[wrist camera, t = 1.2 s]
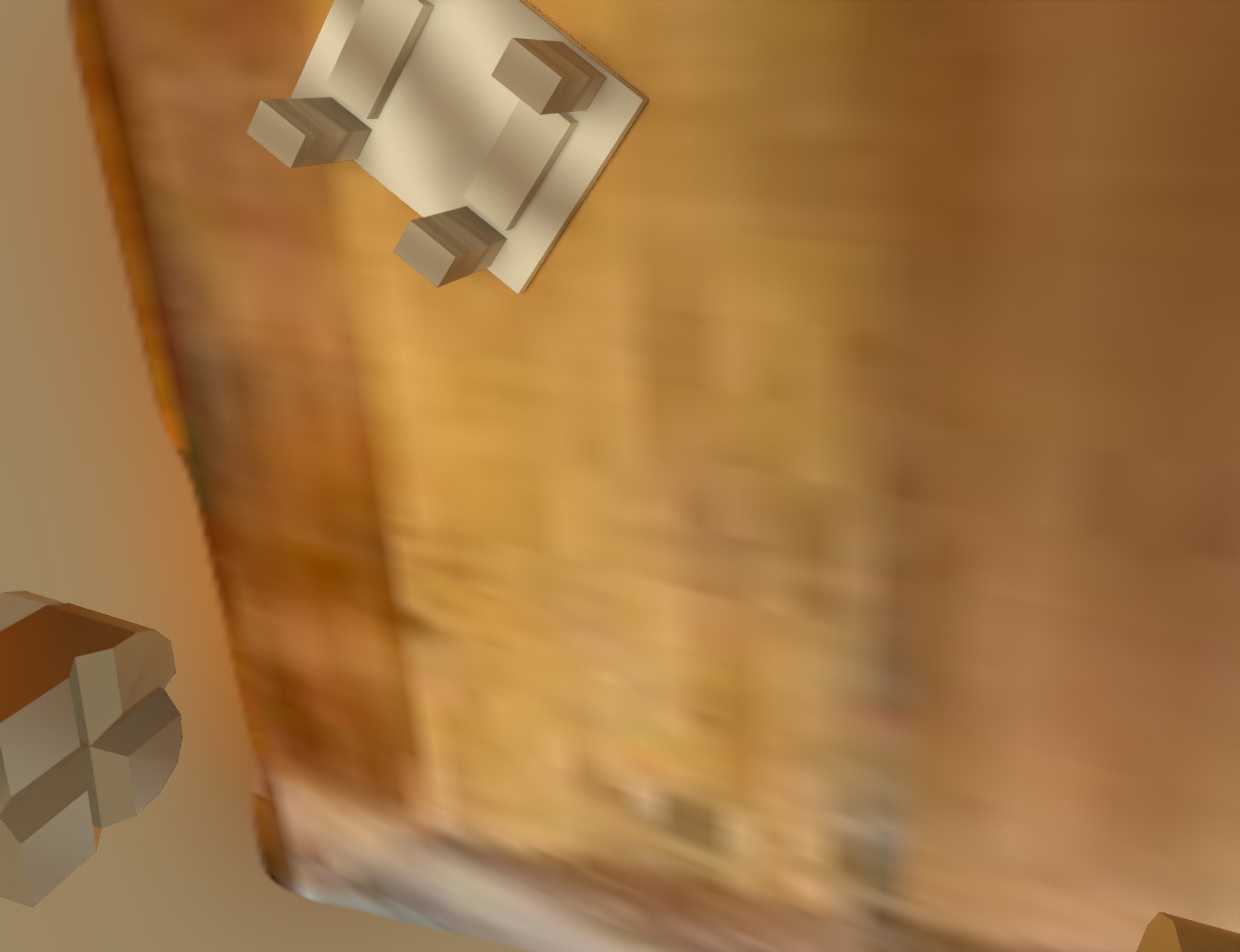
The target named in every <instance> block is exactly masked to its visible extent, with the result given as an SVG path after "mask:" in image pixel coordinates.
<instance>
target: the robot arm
mask: <svg viewBox="0 0 1240 952" xmlns="http://www.w3.org/2000/svg"><path fill="white" fill-rule="evenodd" d="M173 658H174V657H173V651H172V645H171V641H170V640H169V639H167V638H166V637H165V636H163V635H162V634H160V633H159V632H157V631H156V630H154V629H151V628H147V627H144V626H141V625H138V624H135V623H131V622H128V621H125V620H122V619H118V618H115V617H111V616H109V615H105V614H102V613H99V612H96V611H93V610H89V609H86V608H83V607H80V606H76V605H73V604H70V603H66V604H65V603H62V602H60V601H57V600H54V599H50V598H47V597H43V596H41V595H37V594H34V593H30V592H28V591H13V592H2V593H0V897H3V898H6V899H9V900H12V901H15V902H18V903H21V904H24V905H27V906H30V907H34V906H35V905H36V904H38V903H39V902H40V901H41V900H42V899H43V898H44V897H45V896H47V895H48V894H49V893H50V892H51V891H52V890H53V889H55V888H56V887H57V886H58V885H59V884H60V883H61V882H62V881H63V880H65V879H66V878H67V877H68V876H69V875H70V874H71V873H73V872H74V871H75V870H76V869H77V868H78V867H79V866H80V865H82V864H83V863H84V862H85V861H86V860H87V859H88V858H89V857H91V855H93V854H94V853H95V852H96V851H97V847H98V843H99V838H100V834H101V829H102V828H104V827H107V826H110V825H112V824H115V823H118V822H120V821H123V820H126V819H129V818H132V817H134V816H137V815H138V814H139V813H140V812H141V811H142V810H143V809H144V808H145V807H146V806H147V805H148V804H149V803H150V802H151V801H152V800H154V799H155V798H156V797H157V796H158V795H159V794H160V793H161V791H162V789H163V788H164V786H165V784H166V782H167V781H168V779H169V777H170V775H171V773H172V772H173V770H174V768H175V767H176V765H177V763H178V759H179V753H180V748H181V743H182V737H183V736H182V725H181V714H180V713H179V711H178V710H177V708H176V706H175V705H174V704H173V702H172V700H171V699H170V697H169V696H168V694H167V693H166V691H165V690H164V688H165V687H166V686H167V684H168V683H169V681H170V680H171V679H172V677H173V676H174V675H175V673H176V670H175V664H174V659H173ZM1136 952H1240V934H1239V933H1235V932H1232V931H1228V930H1224V929H1221V928H1217V927H1213V926H1210V925H1206V924H1203V923H1199V922H1195V921H1192V920H1188V919H1184V918H1181V917H1177V916H1173V915H1170V914H1166V913H1162V912H1159V913H1158V914H1157V915H1156V916H1155V917H1154V918H1153V920H1152V921H1151V922H1150V923H1149V924H1148V925H1147V928H1146V930H1145V932H1144V935H1143V937H1142V940H1141V942H1140V944H1139V947H1138V949H1137V951H1136Z"/></svg>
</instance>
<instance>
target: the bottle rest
mask: <svg viewBox="0 0 1240 952" xmlns="http://www.w3.org/2000/svg"><path fill="white" fill-rule="evenodd" d="M647 101H648V99H647V98H646V97H645V96H643V95H642V94H641V93H640V92H638V91H637V90H636V89H635V88H633V87H632V86H631V85H630V84H628V83H627V82H626V81H625V80H623V79H622V78H621V77H620V76H618V75H617V74H616V73H615V72H613V71H612V70H611V69H610V68H608V67H607V66H606V65H605V64H603V63H602V62H601V61H600V60H598V59H597V58H596V57H595V56H593V55H592V54H591V53H590V52H589V51H587V50H586V49H585V48H584V47H582V46H581V45H580V44H579V43H577V42H576V41H575V40H574V39H572V38H571V37H570V36H569V35H567V34H566V33H565V32H564V31H562V30H561V29H560V28H559V27H557V26H556V25H555V24H554V23H552V22H551V21H550V20H549V19H547V18H546V17H545V16H544V15H542V14H541V13H540V12H539V11H537V10H536V9H535V8H534V7H532V6H531V5H530V4H529V3H527V2H526V1H525V0H335V1H334V3H333V5H332V7H331V10H330V12H329V14H328V16H327V18H326V21H325V23H324V25H323V27H322V29H321V32H320V34H319V36H318V38H317V40H316V43H315V45H314V47H313V49H312V52H311V54H310V56H309V58H308V60H307V63H306V65H305V67H304V69H303V71H302V74H301V76H300V78H299V80H298V83H297V85H296V87H295V89H294V91H293V94H292V96H291V98H290V99H268V100H261V101H260V103H259V105H258V108H257V110H256V112H255V115H254V117H253V119H252V122H251V124H250V126H249V128H248V131H247V133H248V134H249V135H250V136H251V137H252V138H254V139H255V140H256V141H257V142H259V143H260V144H261V145H262V146H264V147H265V148H266V149H267V150H269V151H270V152H271V153H272V154H273V155H275V156H276V157H277V158H278V159H280V160H281V161H282V162H283V163H285V164H286V165H287V166H288V167H289V168H297V167H304V166H311V165H318V164H325V163H333V162H340V161H347V160H353V161H354V162H356V163H357V164H358V165H359V166H361V167H362V168H363V169H364V170H365V171H367V172H368V173H369V174H370V175H372V176H373V177H374V178H375V179H377V180H378V181H379V182H380V183H382V184H383V185H384V186H385V187H386V188H388V189H389V190H390V191H391V192H393V193H394V194H395V195H396V196H398V197H399V198H400V199H401V200H403V201H404V202H405V203H406V204H407V205H409V206H410V207H411V208H412V209H414V210H415V211H416V212H417V213H419V214H420V215H421V216H422V217H423V218H419V219H415V220H411V221H410V222H409V224H408V226H407V228H406V230H405V231H404V233H403V235H402V237H401V239H400V241H399V242H398V244H397V246H396V248H395V250H394V251H393V252H394V253H396V254H397V255H398V256H399V257H400V258H402V259H403V260H404V261H405V262H407V263H408V264H409V265H410V266H412V267H413V268H414V269H415V270H417V271H418V272H419V273H420V274H421V275H423V276H424V277H425V278H426V279H428V280H429V281H430V282H431V283H433V284H434V285H435V286H436V287H437V288H438V287H440V286H443V285H445V284H448V283H450V282H453V281H455V280H458V279H460V278H463V277H465V276H468V275H470V274H473V273H475V272H478V271H480V270H483V269H485V268H487V269H488V270H489V271H490V272H491V273H493V274H494V275H495V276H496V277H498V278H499V279H500V280H501V281H503V282H504V283H505V284H506V285H508V286H509V287H510V288H511V289H513V290H514V291H515V292H516V293H517V294H519V293H521V292H523V291H525V290H526V288H527V287H528V285H529V284H530V282H531V280H532V279H533V277H534V276H535V274H536V273H537V271H538V270H539V268H540V267H541V265H542V263H543V262H544V260H545V259H546V257H547V256H548V254H549V253H550V251H551V250H552V248H553V246H554V245H555V243H556V242H557V240H558V239H559V237H560V236H561V234H562V233H563V231H564V229H565V228H566V226H567V225H568V223H569V222H570V220H571V219H572V217H573V216H574V214H575V213H576V211H577V209H578V208H579V206H580V205H581V203H582V202H583V200H584V199H585V197H586V196H587V194H588V192H589V191H590V189H591V188H592V186H593V185H594V183H595V182H596V180H597V179H598V177H599V175H600V174H601V172H602V171H603V169H604V168H605V166H606V165H607V163H608V162H609V160H610V158H611V157H612V155H613V154H614V152H615V151H616V149H617V148H618V146H619V145H620V143H621V141H622V140H623V138H624V137H625V135H626V134H627V132H628V131H629V129H630V128H631V126H632V124H633V123H634V121H635V120H636V118H637V117H638V115H639V114H640V112H641V111H642V109H643V108H644V106H645V104H646V103H647Z"/></svg>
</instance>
